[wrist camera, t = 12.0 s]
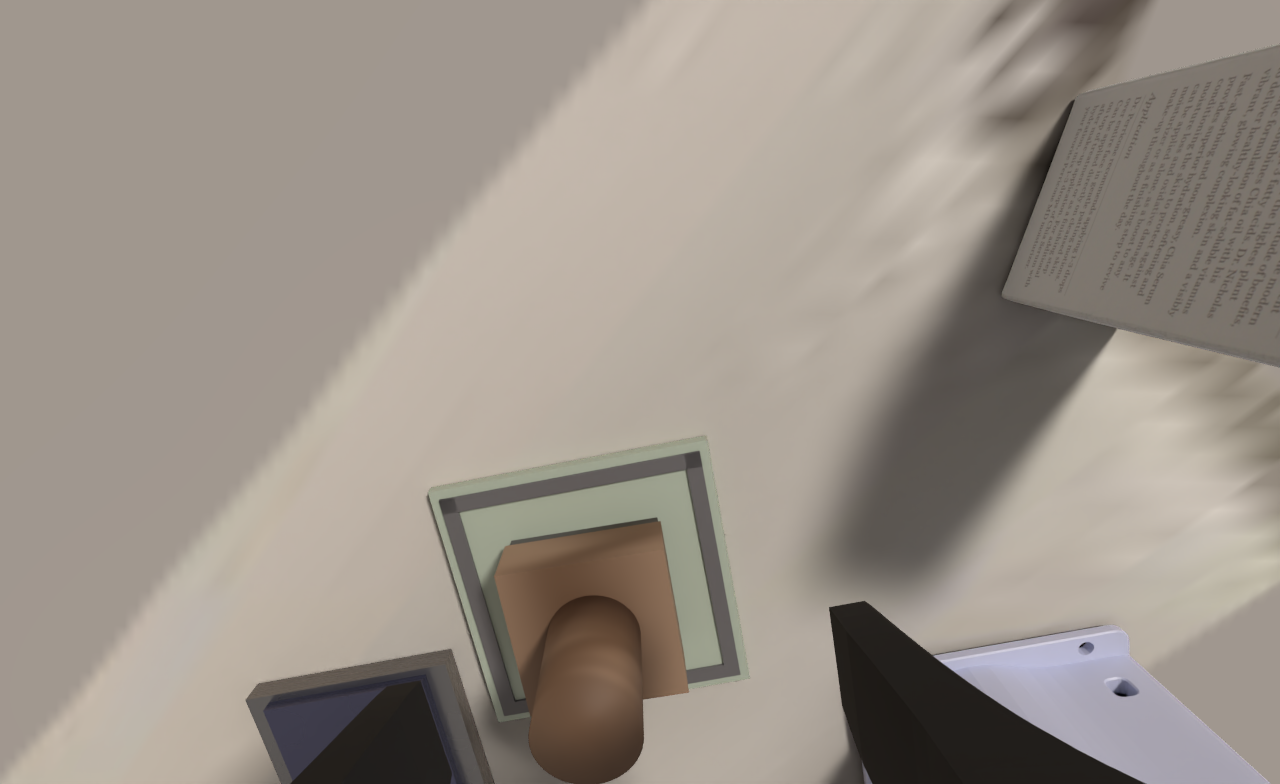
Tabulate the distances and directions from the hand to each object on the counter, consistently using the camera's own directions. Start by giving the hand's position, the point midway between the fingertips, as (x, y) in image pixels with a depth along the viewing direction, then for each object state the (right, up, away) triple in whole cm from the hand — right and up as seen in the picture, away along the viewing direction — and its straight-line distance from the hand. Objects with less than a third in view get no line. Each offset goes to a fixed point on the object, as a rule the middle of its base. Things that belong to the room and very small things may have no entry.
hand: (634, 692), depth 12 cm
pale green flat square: (-1, -1, +11) cm, 11 cm away
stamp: (-1, -2, +11) cm, 11 cm away
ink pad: (-9, -8, +13) cm, 18 cm away
